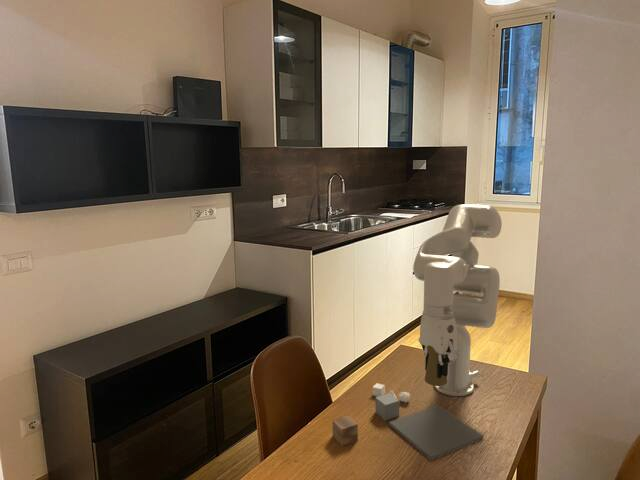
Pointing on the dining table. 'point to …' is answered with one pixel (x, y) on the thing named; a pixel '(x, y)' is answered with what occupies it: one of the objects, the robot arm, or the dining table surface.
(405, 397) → the game pieces
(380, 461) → the dining table surface
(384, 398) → the slate-grey block
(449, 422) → the mat
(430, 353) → the olive lobed rounded piece
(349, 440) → the walnut block
